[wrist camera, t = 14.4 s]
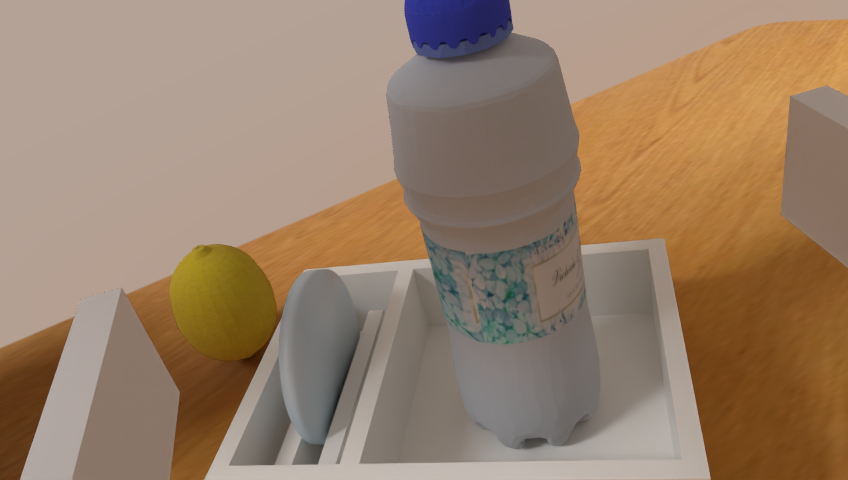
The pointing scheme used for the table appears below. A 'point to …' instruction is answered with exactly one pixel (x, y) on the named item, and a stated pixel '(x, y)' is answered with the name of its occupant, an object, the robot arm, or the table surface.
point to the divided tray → (438, 389)
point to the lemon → (223, 302)
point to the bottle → (498, 214)
